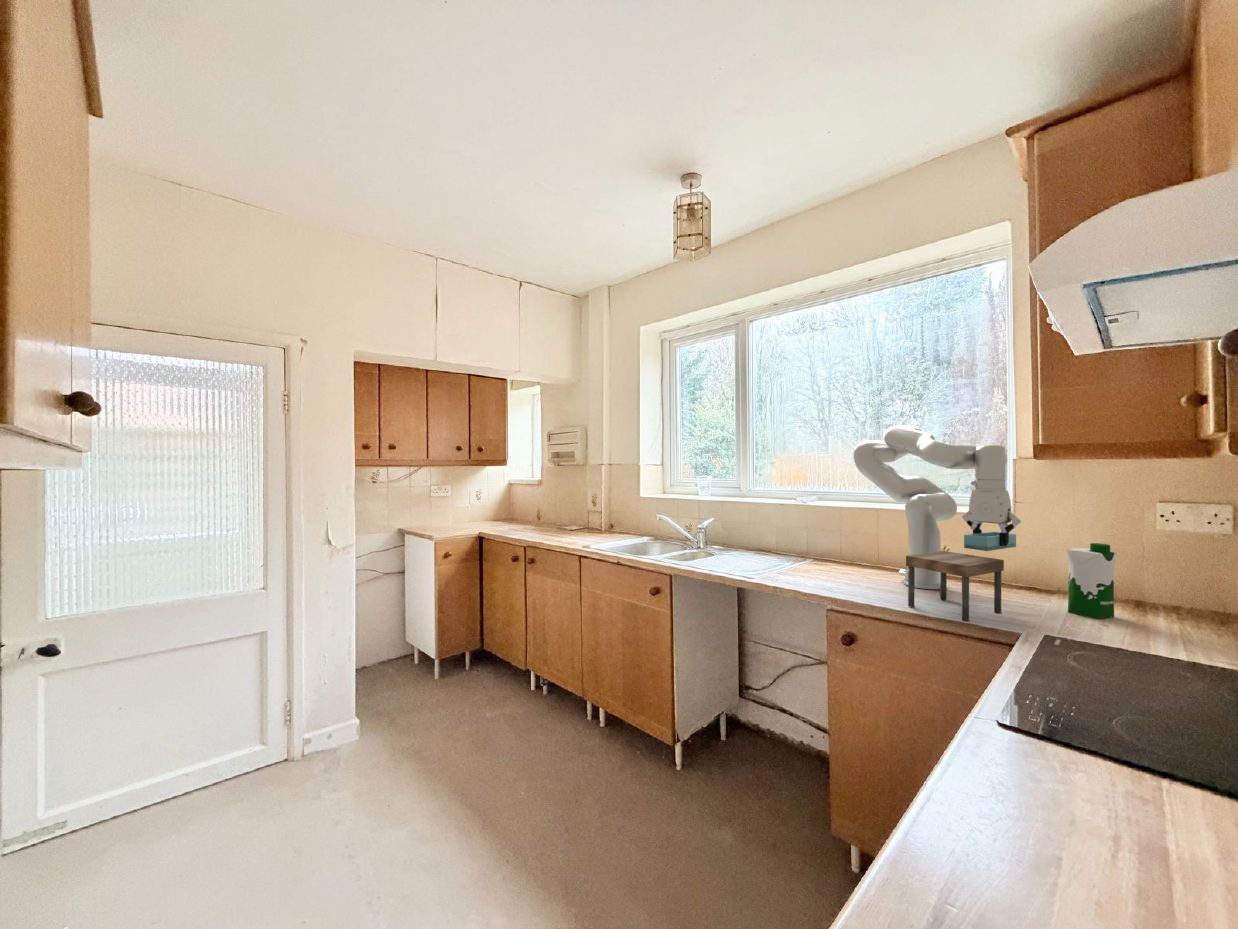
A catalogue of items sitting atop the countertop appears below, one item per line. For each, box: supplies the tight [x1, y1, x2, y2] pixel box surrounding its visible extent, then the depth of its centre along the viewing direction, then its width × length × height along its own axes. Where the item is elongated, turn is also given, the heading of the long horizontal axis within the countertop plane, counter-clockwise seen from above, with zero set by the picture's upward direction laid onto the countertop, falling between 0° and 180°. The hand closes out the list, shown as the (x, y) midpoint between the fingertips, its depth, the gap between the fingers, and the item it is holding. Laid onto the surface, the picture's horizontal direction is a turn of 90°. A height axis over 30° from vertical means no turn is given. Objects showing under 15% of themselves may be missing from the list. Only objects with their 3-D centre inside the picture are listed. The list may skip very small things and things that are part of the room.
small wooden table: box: [905, 550, 1005, 623], centre depth 147 cm, size 17×18×15 cm
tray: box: [963, 531, 1017, 552], centre depth 156 cm, size 6×16×4 cm, turn 117°
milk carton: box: [1065, 542, 1118, 620], centre depth 142 cm, size 9×9×20 cm
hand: (990, 543), depth 156 cm, fingers closed on tray, 6 cm apart
